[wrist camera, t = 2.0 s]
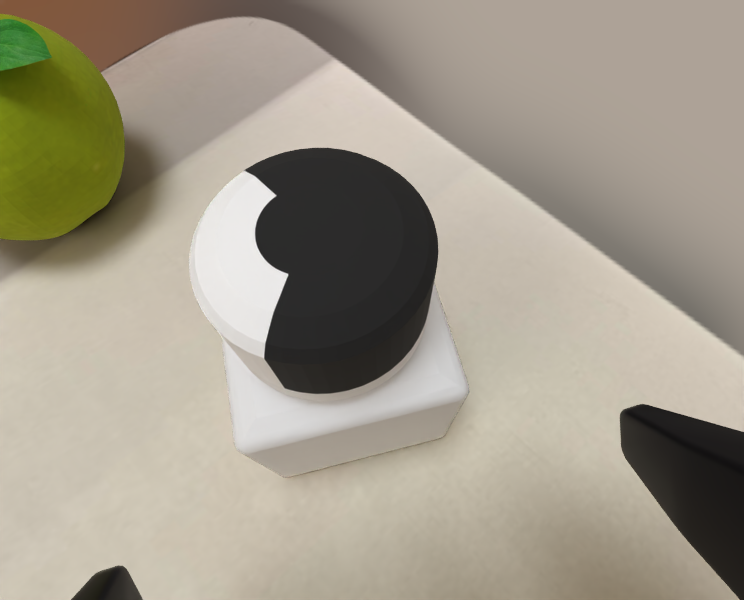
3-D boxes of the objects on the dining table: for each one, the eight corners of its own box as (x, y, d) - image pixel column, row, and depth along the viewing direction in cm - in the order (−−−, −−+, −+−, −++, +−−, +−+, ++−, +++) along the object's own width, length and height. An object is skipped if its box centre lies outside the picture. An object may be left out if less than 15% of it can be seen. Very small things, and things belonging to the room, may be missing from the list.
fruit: (143, 271, 25) (5, 120, 16) (-42, 277, 25) (-284, 130, 16) (171, 131, 29) (73, -54, 20) (11, 136, 29) (-159, -45, 20)
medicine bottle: (403, 290, 24) (416, 89, 13) (447, 437, 21) (512, 333, 10) (256, 324, 24) (145, 143, 13) (280, 480, 21) (163, 418, 10)
